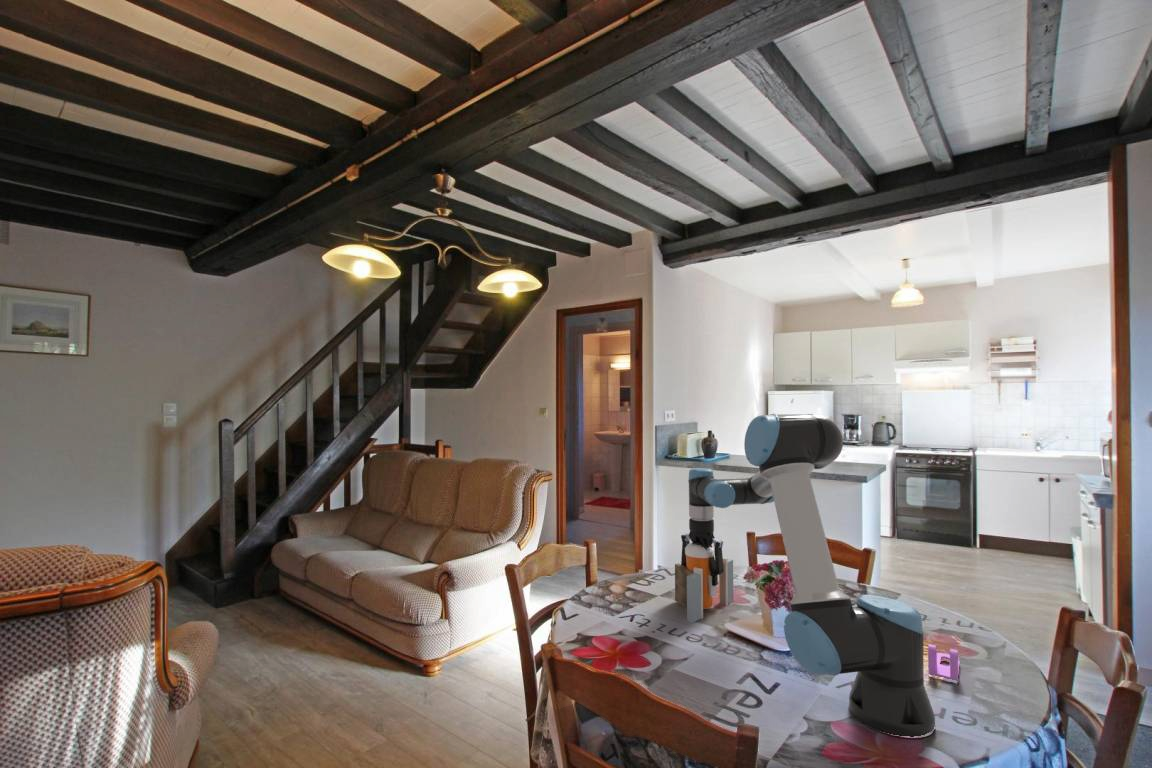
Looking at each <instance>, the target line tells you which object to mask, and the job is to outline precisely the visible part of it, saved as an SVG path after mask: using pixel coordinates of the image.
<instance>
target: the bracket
mask: <svg viewBox="0 0 1152 768" xmlns="http://www.w3.org/2000/svg"><path fill="white" fill-rule="evenodd" d="M927 653H928V654H927V657H928V659H927V661H928V675H929V674H930V675H935V676H939V677H944V678H947V679H952V680H956V681H958V682H959V679H958V675H959V676H960V669H959V665H960V666H961V663H960V662H961V661H960V659H959V650H957V649H953V648H949V654H948V653H944V652H943V653H942V652H937V645H935V644H930V643H929V644H928V648H927ZM942 658H946V659H949V660H950V663H949V665H943V664H942V662H941V659H942ZM940 663H941V664H940Z"/></svg>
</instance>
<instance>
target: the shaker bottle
mask: <svg viewBox="0 0 1152 768" xmlns="http://www.w3.org/2000/svg"><path fill="white" fill-rule="evenodd" d="M692 543H694V544H692ZM700 544H703V543H701V542H699V541H691V542H690V544H688V545H687V546H686V547H685V555H686V565H687V569H689V570H691V571H694V568H695V567H696V568H700V569H703V610H707V609H710V608H712V607H713V596H712V597H709V575H710V574H711V572H710V569H709V556H710V557H713V555H714V556H715V552H714V548H713V547H714V546H712V548H711V547H709V548H707V550H706V549H705V548H704V547H702V545H700Z"/></svg>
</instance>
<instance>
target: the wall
mask: <svg viewBox="0 0 1152 768" xmlns="http://www.w3.org/2000/svg"><path fill="white" fill-rule="evenodd" d="M723 569H724V572H723V573H722V574H719V575H718V603H719V604H721V605H725V606H728V605H729V604H730V603H732V602H734V559H731V558H726V557H723ZM703 619H704V609H703V569H700V568H696V567H695V568H694V573H693V574H691V575H688V576H687V607H686V621H687V622H688V623H691V624H694V623H696V622H697V621H699V620H703Z"/></svg>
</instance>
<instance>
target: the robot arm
mask: <svg viewBox="0 0 1152 768" xmlns="http://www.w3.org/2000/svg"><path fill="white" fill-rule="evenodd" d="M743 444H744V445H743V446H744V454H745V457H746V459H747V461H748V462H749V464H750V465H752V466H754V467H758V468H759V471H757V472H756V473H755V474H753V475H751V477H748V478H725V479H724V478H722V479H719V478H718V479H717V478H715V476H714V470H713V469H711V468H706V467H693V468H691V469H689V471H688V480H687V481H688V517H689V519H688V521H689V523H688V525H689V528H688V529H689V532H688V533H684V534H682V535H680V537H681V543H682V547H681V561H680V564H681V565H683V566H685V567H687V565H686V555H685V547H686V546H687V545H688V544H690V543H692V541H699V542H701V543H703V544H700V545H702V547H704V548H705V549H706V550H707V548H709V547H711V548H712V547H714V548H713V549H714V555H713V557H710V556H709V569H710V572H711V574H710V575H709V597H712V598H713V597H714V596H716V594H717V593H716V587H717V586H718V585H719V574H722V573H723V572H724V569H723V558H724V557H723V545H724V541H723V540H719V539H717V538H715V534H714V531H715V521H714V519H713V518H714V515H715V514H714V513H715V511H714V508H720V509H726V508H728V507H730V506H739V505H758V504H759V505H765V504H772V503H774V506H775V511H776V516H777V519H778V524H779V528H780V532H781V538H782V541H783V546H784V550H785V554H786V558H787V563H788V568H789V571H790V575H791V580H792V585H793V588H794V593H795V594H794V596H793V597H792V599H791V601H790V602H789V606H790V609H791V611H790V612H789V613H788V614H787V615H786V616H785V618H784V625H783V631H784V638H785V641H786V643H787V646H788V648H789V651H790V653H791V655H792V656H793V658H794V659H795V661H797V663H798V664H799V665H800V667H801V668H803V669H804V670H805V671H806V672H808V673H809V674H811V675H814V676H833V677H836V676H838V675H841V674H851V673H857V674H856V676H855V678H854V681H853V685H852V687H851V688H850V689H851V690H850V692H849V698H848V699H849V701H848V702H849V706H848V707H849V711H850V713H851V714H852V716H854V718H856V720H858V721H859V722H860V723H861V724H864V725H865V726H867V727H868V728H870V727H871V729H872V728H873V729H872V730H874V729H875V730H874V731H876V730H878V731H877V732H879V731H881V732H885V733H889V734H893V735H899V736H910V737H914V736H921V735H925V734H927V733H929V732H931V731H932V730H933V729H934V727H935V728H936V716H935V715H936V714H935V712H934V710H933V706H932V704H931V701H930V698H929V696H928V693H927V691H926V687H925V677H924V634H925V631H924V630H923V628H924V627H923V619H922V615H921V614H920V612H919V611H918V610H917V609H916V608H914V607H913V606H911V605H910V604H908V603H907V604H906V603H905V602H902V601H900V600H896V599H893V598H889V597H886V596H881V595H876V594H875V595H873V594H861V595H859V596H858V597H857V599H856V601H855V603H856V606H853V603H852V600H851V597H850V596H849V595H847V594H846V593H845V592H843V591H842V590H841V588H840V587H839V583H838V579H837V575H836V571H835V568H834V563H833V560H832V557H831V552H830V549H829V544H828V541H827V537H826V534H825V531H824V530H825V529H824V526H823V525H824V524H823V522H822V519H821V514H820V511H819V507H818V504H817V500H816V495H815V492H814V488H813V485H812V481H811V478H810V477H811V473H812V472H813V471H814V470H822V469H824V468H825V467H827V466H828V465H830V464H831V463H833V462H834V461H835V460H837V458H839V456H840V454H841V453H842V450H843V445H844V439H843V433H842V432H841V430H840V429H839V426H838V425H837V424H836V423H835V422H834V421H833V420H831V419H830V418H828V417H826V416H824V415H821V414H815V413H807V414H801V413H799V414H791V413H790V414H785V413H784V414H781V413H780V414H776V413H771V414H760V415H757V416H755V417H754V418H752V420H751V421H750V422H749V424H748V426H747V428H746V432H745V435H744V443H743ZM690 541H691V542H690ZM692 544H694V543H692ZM881 732H880V733H881Z"/></svg>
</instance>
